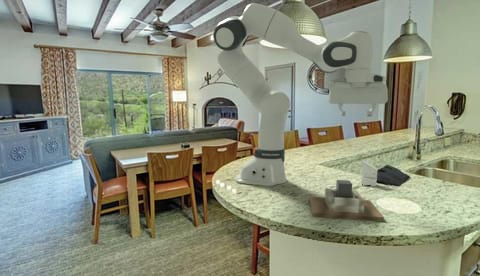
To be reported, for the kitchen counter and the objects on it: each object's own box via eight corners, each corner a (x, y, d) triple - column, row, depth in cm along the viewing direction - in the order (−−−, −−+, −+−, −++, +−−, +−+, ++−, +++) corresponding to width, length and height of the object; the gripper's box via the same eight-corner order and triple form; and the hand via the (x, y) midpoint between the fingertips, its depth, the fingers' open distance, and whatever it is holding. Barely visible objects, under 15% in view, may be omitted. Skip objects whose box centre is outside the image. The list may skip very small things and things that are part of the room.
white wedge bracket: (350, 175, 119) (362, 159, 116) (372, 189, 116) (385, 173, 113) (349, 177, 116) (362, 161, 113) (371, 192, 113) (385, 175, 110)
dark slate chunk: (361, 181, 121) (361, 170, 121) (376, 171, 137) (377, 162, 137) (400, 188, 111) (401, 177, 110) (411, 177, 127) (412, 167, 127)
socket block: (312, 216, 83) (313, 199, 82) (309, 200, 97) (309, 185, 96) (383, 221, 80) (384, 204, 79) (369, 203, 93) (370, 188, 93)
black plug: (337, 208, 87) (338, 183, 85) (335, 203, 90) (336, 179, 89) (350, 208, 86) (352, 184, 85) (348, 204, 90) (349, 180, 89)
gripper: (330, 78, 99) (328, 116, 101) (390, 77, 96) (388, 116, 97) (327, 79, 105) (326, 115, 107) (384, 78, 102) (382, 115, 104)
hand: (356, 116), depth 102 cm, fingers open, 8 cm apart
